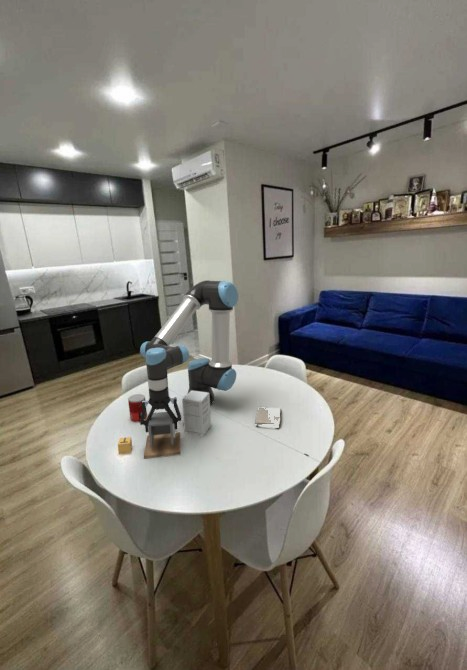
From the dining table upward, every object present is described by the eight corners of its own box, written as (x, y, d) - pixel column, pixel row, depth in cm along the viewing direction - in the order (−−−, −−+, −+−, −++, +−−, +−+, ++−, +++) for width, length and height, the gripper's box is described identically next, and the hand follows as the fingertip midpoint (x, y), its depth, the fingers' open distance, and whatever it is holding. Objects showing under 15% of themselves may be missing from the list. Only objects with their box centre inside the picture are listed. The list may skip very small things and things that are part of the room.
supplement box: (211, 425, 140) (210, 392, 136) (203, 436, 132) (201, 401, 128) (192, 422, 144) (191, 389, 139) (183, 432, 135) (181, 398, 131)
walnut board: (180, 434, 134) (180, 432, 133) (180, 454, 120) (179, 451, 120) (147, 437, 131) (147, 435, 131) (143, 458, 118) (143, 456, 118)
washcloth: (254, 428, 138) (254, 422, 138) (257, 409, 156) (258, 404, 155) (280, 430, 137) (280, 424, 136) (281, 411, 154) (281, 405, 153)
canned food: (142, 423, 143) (140, 401, 140) (127, 421, 145) (124, 400, 142) (149, 414, 150) (148, 394, 148) (135, 413, 152) (133, 393, 149)
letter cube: (132, 446, 126) (131, 436, 125) (130, 452, 122) (129, 443, 121) (120, 447, 125) (119, 437, 124) (118, 454, 121) (117, 444, 120)
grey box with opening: (173, 432, 130) (172, 411, 127) (173, 444, 121) (171, 422, 119) (152, 434, 129) (150, 413, 126) (150, 447, 120) (148, 424, 117)
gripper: (186, 381, 124) (188, 429, 130) (131, 385, 121) (136, 434, 127) (186, 388, 117) (189, 439, 123) (128, 393, 114) (133, 445, 119)
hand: (162, 437), depth 125 cm, fingers closed on grey box with opening, 9 cm apart
